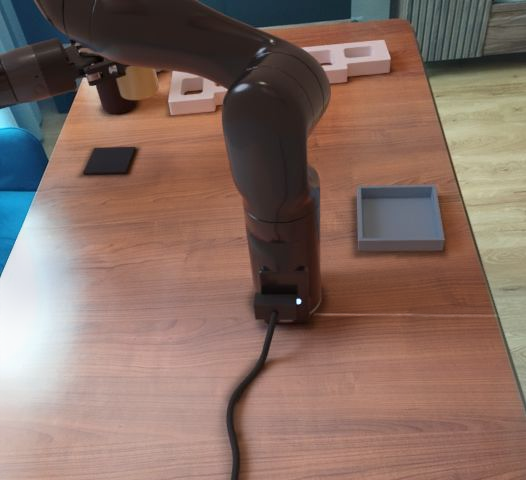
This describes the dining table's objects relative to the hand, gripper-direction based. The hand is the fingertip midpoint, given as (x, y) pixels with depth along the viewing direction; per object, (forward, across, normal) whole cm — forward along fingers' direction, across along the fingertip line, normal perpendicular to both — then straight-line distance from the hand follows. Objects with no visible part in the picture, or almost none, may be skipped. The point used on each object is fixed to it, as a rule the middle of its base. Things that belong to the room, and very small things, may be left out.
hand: (141, 43), depth 93 cm
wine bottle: (-4, +22, +20) cm, 30 cm away
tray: (+26, -37, +20) cm, 50 cm away
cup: (-2, 0, +7) cm, 7 cm away
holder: (+29, +13, +20) cm, 37 cm away
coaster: (-10, +3, +20) cm, 23 cm away
